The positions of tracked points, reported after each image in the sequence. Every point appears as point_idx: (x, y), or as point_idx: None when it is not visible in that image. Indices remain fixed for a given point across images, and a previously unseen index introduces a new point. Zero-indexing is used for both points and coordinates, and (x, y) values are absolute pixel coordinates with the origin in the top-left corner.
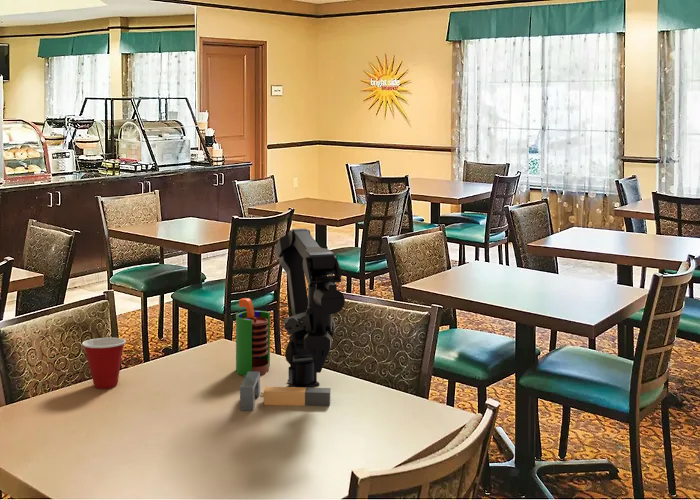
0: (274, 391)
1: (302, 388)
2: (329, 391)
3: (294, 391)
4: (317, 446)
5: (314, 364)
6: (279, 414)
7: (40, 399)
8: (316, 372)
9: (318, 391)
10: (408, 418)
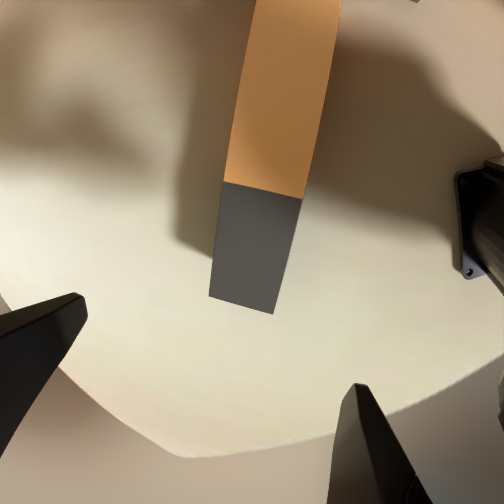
0: (256, 16)
1: (287, 175)
2: (225, 299)
3: (242, 123)
4: (7, 190)
5: (19, 311)
6: (159, 64)
7: None
8: (76, 293)
9: (230, 252)
10: (148, 398)
